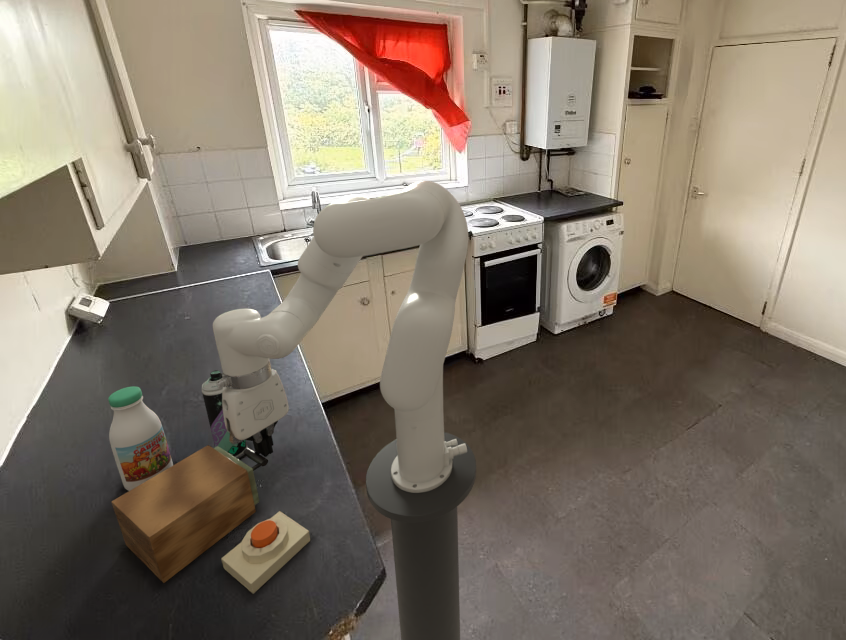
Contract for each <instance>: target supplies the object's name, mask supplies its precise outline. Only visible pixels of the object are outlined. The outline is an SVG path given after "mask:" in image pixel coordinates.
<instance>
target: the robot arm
mask: <svg viewBox="0 0 846 640" xmlns="http://www.w3.org/2000/svg"><path fill="white" fill-rule="evenodd" d="M312 233H313V237H312V238H311V240H310V241H309V243H308V245H307V246H306V248H305V249H304V251H303V252H302V253H301V255H300V256H299V258H298V261H297V269H298V271H299V272H300V274H299V277H298V278H297V280H296V282H295V283H294V285H292V288H291V289H290V291H289V292H288V294H287V296H286V297H284V299H283V301H282V302H281V303H280V304H278V305H277V306H276V307H275V308H274V309H273V310H272V311H270V313H268V314H267V315H265V316H261V313H260V312H259V311H257V310H255V309H253V308H237V309H232V310H229V311H225V312H223V313H221V314H220V315H218V316H217V317H215V319H214V320H213V322H212V331H213V336H214V340H215V344H216V350H217V353H218V357H219V361H220V368H221V371H222V372H221V374H222V379H221V380H220V381H218V382H216V385H217V387H218V388H219V389H220V388H222V387H223V392H222V406H223V416H224V422H225V426H226V430H227V431H228V432H229V433H230V437H229V442H231V443H232V444H233V445H235V444H238V443H240V442H243V441H244V440H246V441H249V442H252V444H253V449H254V451H255V452H256V453H258V454H260V455H261V456H263V457H265V458H267V457H269V456H270V455H271V454H273V453H274V449H273V446H274V440H273V434H274V432H275V427H276V425H277V424H278V422H279V421H280V420H281V419H282V418H284V417H286V415H287V414H288V413H289V410H290V406H289V401H288V398H287V393H286V390H285V388H284V384H283V382H282V380H281V377H280V375H279V373H278V372H277V370H276V369H275V368H272V365H271V361H270V360H279V359H284V358H287V357H288V356H289V355H291V354H292V353H293V352H294V351H295V349H296V348H297V347H298V346H299V345H300V343H301V342H302V341H303V339H304V338H305V337H306V336H307V335H308V334H309V333H310V332H311V331H312V329H313V328H314V327H315V325H316V324H317V323H318V322H319V319H320V318H321V316H322V315H323V314H324V312H325V311H326V309H327V308H328V306H329V305H330V304H331V302H332V301H333V300H334V298H335V296H336V295H337V293H338V292H339V290H341V289H342V288H343V287H344V285H345V283H346V282H347V280H348V279H349V277H350V276H351V274H352V273H353V271H354V269H355V268H356V267H357V265H358V264H359V262H360V261H361V259H362V258H363V257H365V256H371V255H377V254H383V253H388V252H393V251H397V250H403V249H408V248H413V247H418V246H419V248H418V251H417V255H416V259H415V265H414V268H413V269H414V270H413V273H412V277H411V281H410V284H409V288H408V289H407V293H406V295H405V297H404V299H403V300H402V302H401V305H400V306H399V309H398V311H397V312H396V316H395V317H394V321H393V324H392V328H391V332H390V336H389V340H388V344H387V349H386V353H385V356H384V360H383V365H382V369H381V373H380V378H379V389H380V393H381V396H382V398H383V399H384V401H385V402H386V403H387V405H389V406H390V407H391V408H393V409H394V411H393V412H394V423H395V436H396V439H397V452H398V455H397V457H396V458H395V459H394V461H393V463H392V467H391V476H392V480H393V482H394V483H395V485H396V486H397V487H399V488H400V489H402V490H404V491H407V492H411V493H421V492H427V491H430V490H433V489H435V488H437V487H438V486H440V485H442V484H443V483H444V482H445V481H446V480H447V478H448V477H449V476H450V474H451V471H452V459H453V456H456V455H461V454H464V453H467V447H466V444H467V443H466V442H465V443H466V444H465V443H464V444H461V445H458V446H456V445H457V440H456V439H454V440H450V441H448V442H446V441H444V432H445V424H444V422H445V418H444V416H445V415H444V363H445V360H446V356H447V353H448V349H449V345H450V341H451V337H452V333H453V326H454V321H455V311H456V302H457V301H456V300H457V296H458V292H459V288H460V285H461V280H462V277H463V273H464V268H465V263H466V259H467V254H468V248H469V229H468V222H467V218H466V215H465V213H464V210H463V208H462V206H461V204H460V203H459V201H458V200H457V199H456V198H455V196H454V195H453V193H451V192H450V191H449V190H448V189H447V188H445V187H444V186H443V185H441V184H440V183H438V182H434V181H431V180H419V181H416V182H415V181H414V182H413V183H411V184H409V185H408V186H406V187H405V188H404V189H403V190H402V191H400V192H396V193H393V194H387V195H382V196H377V197H372V198H369V197H368V196H366V195H362V194H349V195H345V196H342V197H341V198H339V199H336V200H335V201H333V202H331V203H329V204H328V205H326V206H325V207H324V208H322V209H321V210H320V211H319V212H318V213H317V215H316V217H315V219H314V223H313V228H312ZM453 446H456V447H453ZM451 447H453V448H451Z"/></svg>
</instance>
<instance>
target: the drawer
mask: <svg viewBox="0 0 846 640" xmlns="http://www.w3.org/2000/svg"><path fill="white" fill-rule="evenodd" d="M213 448H214V449H215V450H217V451H218V452H220V453H221V454H223V455H224V456H226V457H227V458H229V459H230V460H232V461H233V462H235V463H237V464H238V465H240V466H241V467H243V468H244V469H246V470H247V472H248V476H249V481H250V486H251V491H252V495H253V500H254V505H255V506H256V505H257V504H259V503H260V498H259V492H258V487H257V482H256V477H255V471H256V470H258V469H259V468H261V467H266V466H268V464H269V459H268V458H267V457H264V456H263V455H261V454H258V453H256V452H255V450H253V449H251V448H250V447H247V449H245V450H244V452H243V454H241V455H240V456H238V457H236V458H235V457H234V456H232V455H231V454H229V453H228V452H226V451H225V450H223V449H222V448H220V447H218V446H217V447H215V446H214V447H213ZM244 458H248V459H249V460H251V461H252V462H254V463H256V464H254V465H253V466H249V465H248V464H247V463H245V462H244V461H242V459H244Z"/></svg>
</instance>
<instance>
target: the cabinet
mask: <svg viewBox="0 0 846 640" xmlns="http://www.w3.org/2000/svg"><path fill="white" fill-rule="evenodd" d="M214 448H215V447H212V446H211V445H209V444H208V445H206V446H204V447H202V448H200V449H198V450H197V451H195V452H194V453H192V454H190V455H188V456H187V457H184V458H183V459H182V460H180V461H178V462H177V463H174V464H173V466H171V467H170V468H168V469H166V470H165V471H163V472H161V473H159V474H158V475H156V476H154V477H153V478H151V479H149V480H147V481H146V482H144V483H142V484H141V485H139V486H137V487H135V488H134V489H132V490H130V491H127V492H125V493H123V494H122V495H120V496H119V497H117V498H115V499H113V500H112V501H111V505H112V508H113V512H114V514H115V518H116V520H117V522H118V525H119V526H118V527H119V529H120V531H121V535H122V538H123V540H124V543H125V546H126V547H127V548H128V549H129V550H130V551H131V552H132V553H133V554H134V555H135V556H136V557H137V558H138V559H139V560H140V561H141V562H142V564H144V565H145V566H146V567H147V568H148V570H150V571H151V572H152V573H153V574H154V576H156V577H157V578H158V579H159V580H160V581H161V582H162V583H163V584H165V583H166V582H168V581H169V580H170V579H172V577H174V576H176V574H178V573H179V572H181V571H182V570H183V569H184V568H186V567H187V566H188V565H189V564H191V563H192V562H194V560H196V559H197V558H199V557H200V556H201V555H202V554H203V553H205V552H206V551H208V550H209V549H210V548H211V547H212V546H214V545H216V544H217V543H218V542H219V541H220V540H222V539H223V538H224V537H226V536H227V535H228V534H229V533H231V532H232V531H233V530H235V529H236V528H237V527H239V526H240V525H242V523H243V522H245V521H246V520H247V519H249V518H250V517H251V516H252V515H254V514H255V513H256V512H257V511H256V505H254V500H253V495H252V491H251V486H250V481H249V476H248V472H247V470H246V469H244V468H243V467H241V466H240V465H238V464H237V463H235V462H233V461H232V460H230V459H229V458H227V457H226V456H224V455H223V454H221V453H220V452H218V451H217V450H215V449H214Z"/></svg>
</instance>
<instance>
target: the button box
mask: <svg viewBox="0 0 846 640" xmlns="http://www.w3.org/2000/svg"><path fill="white" fill-rule="evenodd" d="M267 520H271V521H274V522H275V523H276V527H277V532H278V534H277V537H276V539H275V540H274V541H273V542H272V543H271V544H270V545H268V546H266V547H263V548H256V547H254V546H253V543H252V539H251V532H252V530H253V529H254V528H255V527H256V526H257V525H258V524H259V523H261V522H264V521H267ZM309 542H311V535H310V530H308V529H307V528H305V527H304V526H302V525H301V524H299V523H298V522H297V521H295V520H293V519H292V518H291V517H289V516H288V515H286V514H284V513H283V512H282V511H280V510H279V511H278V512H277V513H276V514H274V515H273V516H271V517H270V518H267V519H266V520H263V521H260V522H258V523H257V524H255V525H254V526H252V528H250V529H249V530H248V531H247V532H246V533H245V535H244V537H243V539H242V540H241V541H240V543H238V544H237V545H235V547H233V548H232V549H231V550H230V551H228V552H227V553H226V554H225V555H224V556H222V557H221V564H222V567H223V569H224V570H225V571H226V572H227V573H228V574H230V575H231V577H233V578H234V579H235V580H237V581H238V583H240V584H241V585H242V586H244V588H246V589H247V591H248V592H250V593H251V594H252V595H254V594H255V593H256V592H258V590H260V588H261V587H263V586H264V585H265V584H266V583H267V582H268V581H269V580H270V579H271V578H272V577H273V576H274V575H275V574H277V573H278V572H279V571H280V570H281V569H283V567H284V566H285V565H286V564H287V563H288V562H289V561H290V560H291V559H292V558H293V557H295V556H296V555H297V554H298V553H299V552H300V551H301V550H302V549H303V548H304V547H305V546H307V544H309Z"/></svg>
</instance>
